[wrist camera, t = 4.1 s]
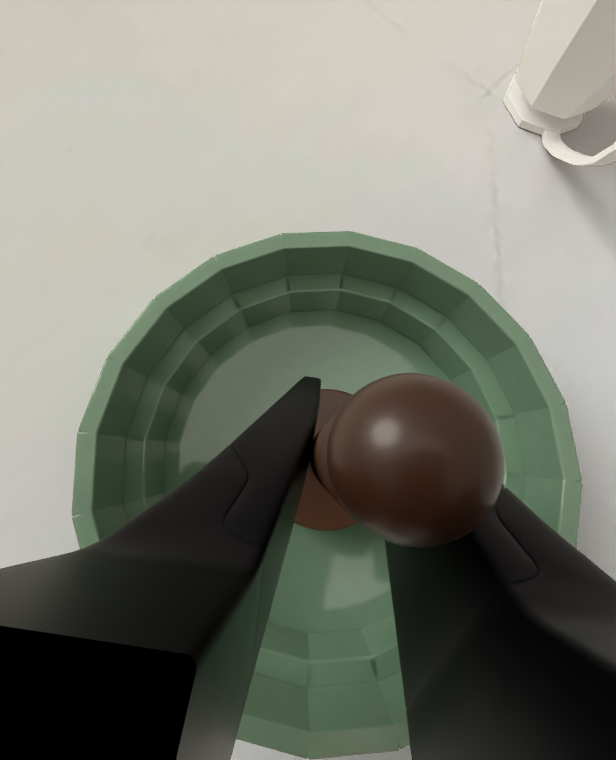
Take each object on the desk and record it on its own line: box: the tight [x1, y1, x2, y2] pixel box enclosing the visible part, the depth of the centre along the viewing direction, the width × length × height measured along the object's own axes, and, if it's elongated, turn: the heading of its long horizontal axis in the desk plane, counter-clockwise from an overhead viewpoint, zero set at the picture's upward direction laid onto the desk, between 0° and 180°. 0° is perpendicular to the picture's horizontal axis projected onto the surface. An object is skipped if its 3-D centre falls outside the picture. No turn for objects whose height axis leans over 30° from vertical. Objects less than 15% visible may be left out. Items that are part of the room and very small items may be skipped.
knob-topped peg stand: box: [294, 373, 504, 548], centre depth 9 cm, size 5×5×12 cm
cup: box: [503, 0, 616, 166], centre depth 15 cm, size 7×10×8 cm
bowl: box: [72, 231, 582, 759], centre depth 13 cm, size 15×15×4 cm
